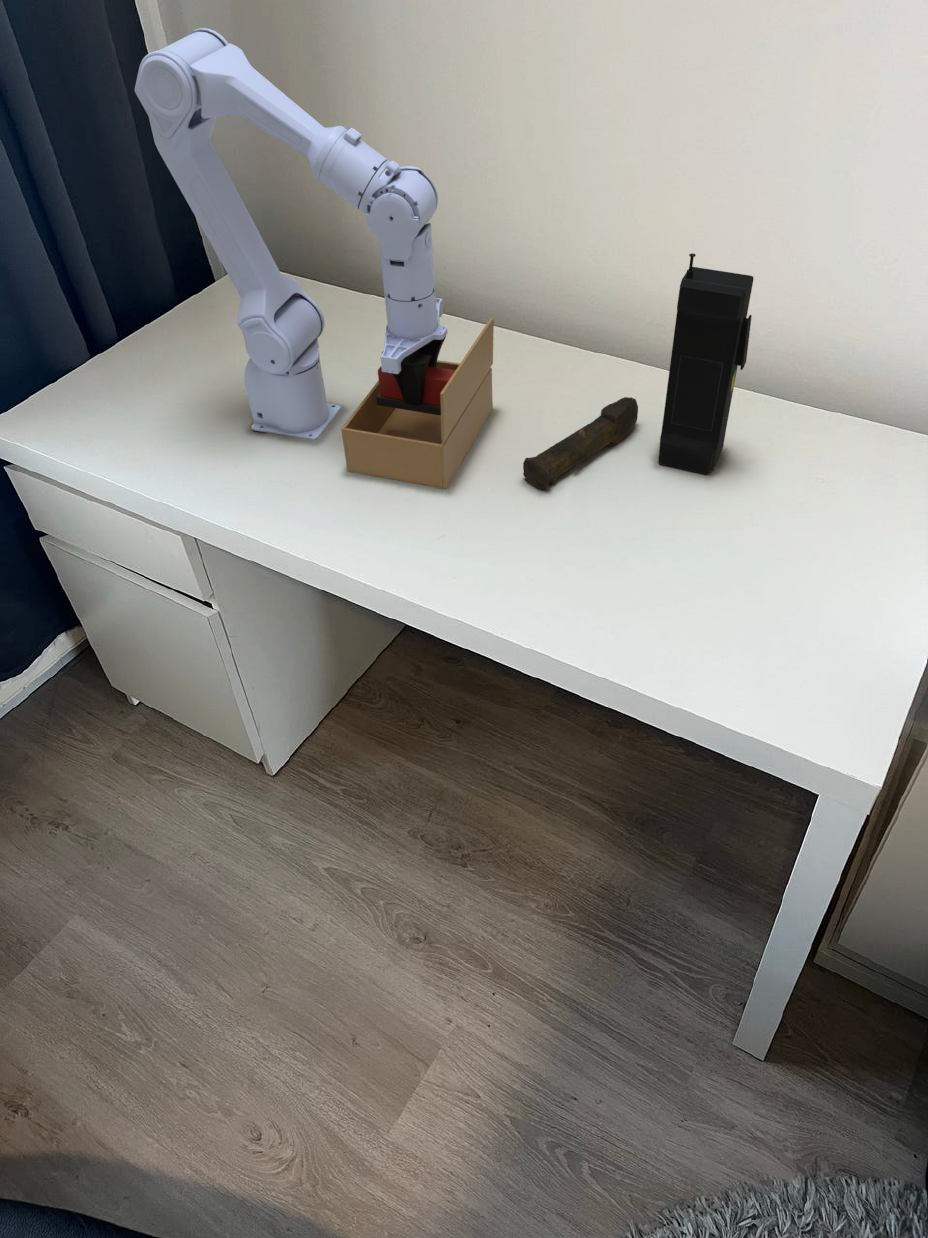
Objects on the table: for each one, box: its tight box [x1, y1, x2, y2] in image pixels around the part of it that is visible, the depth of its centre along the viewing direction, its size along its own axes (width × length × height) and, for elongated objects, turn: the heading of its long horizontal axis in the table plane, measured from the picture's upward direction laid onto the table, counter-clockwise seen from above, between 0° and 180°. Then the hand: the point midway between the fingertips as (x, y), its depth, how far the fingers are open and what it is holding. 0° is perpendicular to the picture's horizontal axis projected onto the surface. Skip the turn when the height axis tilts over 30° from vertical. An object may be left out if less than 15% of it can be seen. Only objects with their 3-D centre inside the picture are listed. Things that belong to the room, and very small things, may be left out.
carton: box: [340, 359, 494, 490], centre depth 117 cm, size 18×13×6 cm
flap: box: [440, 316, 495, 442], centre depth 110 cm, size 18×6×1 cm
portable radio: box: [658, 253, 754, 475], centre depth 105 cm, size 8×6×25 cm
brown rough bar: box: [522, 396, 639, 491], centre depth 114 cm, size 19×4×5 cm, turn 131°
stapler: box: [376, 366, 456, 416], centre depth 113 cm, size 10×3×5 cm, turn 71°
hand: (418, 396), depth 114 cm, fingers closed on stapler, 2 cm apart
